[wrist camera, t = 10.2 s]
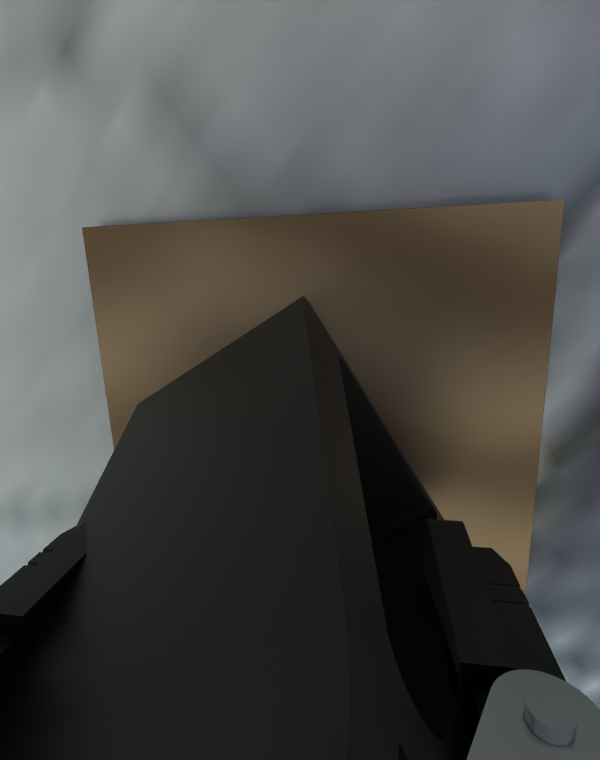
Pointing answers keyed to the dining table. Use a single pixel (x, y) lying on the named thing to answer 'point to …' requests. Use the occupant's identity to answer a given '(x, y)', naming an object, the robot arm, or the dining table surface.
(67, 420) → the dining table surface
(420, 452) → the walnut board
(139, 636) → the phone stand
